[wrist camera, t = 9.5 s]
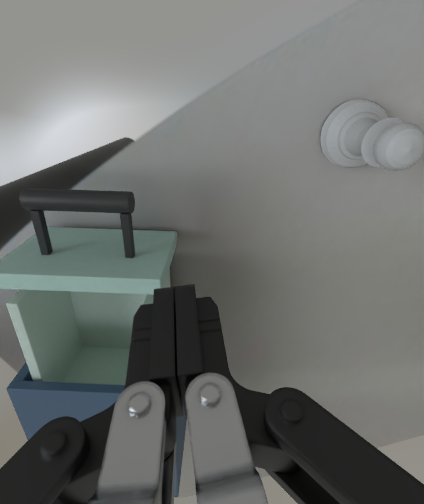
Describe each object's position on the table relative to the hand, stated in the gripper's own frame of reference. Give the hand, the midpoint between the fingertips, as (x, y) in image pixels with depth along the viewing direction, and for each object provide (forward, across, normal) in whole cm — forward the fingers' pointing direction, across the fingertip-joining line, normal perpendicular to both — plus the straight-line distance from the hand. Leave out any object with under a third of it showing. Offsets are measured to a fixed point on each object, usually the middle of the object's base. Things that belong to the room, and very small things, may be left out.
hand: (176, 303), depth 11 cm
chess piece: (+14, -14, -1) cm, 20 cm away
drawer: (+14, +6, +10) cm, 18 cm away
